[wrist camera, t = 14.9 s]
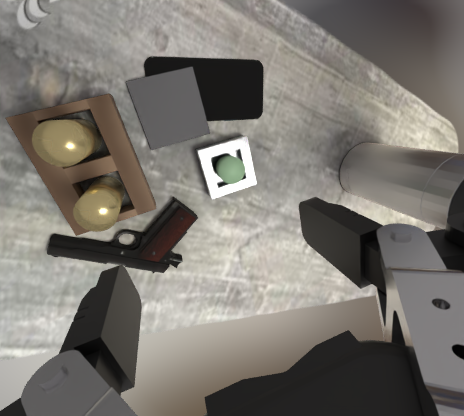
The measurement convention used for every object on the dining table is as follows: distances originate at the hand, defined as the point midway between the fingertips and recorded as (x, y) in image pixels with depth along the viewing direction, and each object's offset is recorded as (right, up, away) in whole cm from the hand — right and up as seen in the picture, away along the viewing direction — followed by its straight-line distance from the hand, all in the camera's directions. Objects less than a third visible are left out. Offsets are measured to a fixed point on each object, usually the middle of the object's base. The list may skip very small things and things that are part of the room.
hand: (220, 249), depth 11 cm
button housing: (0, +8, +24) cm, 26 cm away
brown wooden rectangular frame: (-16, +7, +19) cm, 26 cm away
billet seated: (-16, +4, +21) cm, 26 cm away
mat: (-7, +14, +20) cm, 25 cm away
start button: (0, +7, +23) cm, 24 cm away
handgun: (-14, -1, +24) cm, 28 cm away
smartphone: (-3, +17, +21) cm, 27 cm away
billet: (-17, +10, +18) cm, 27 cm away
